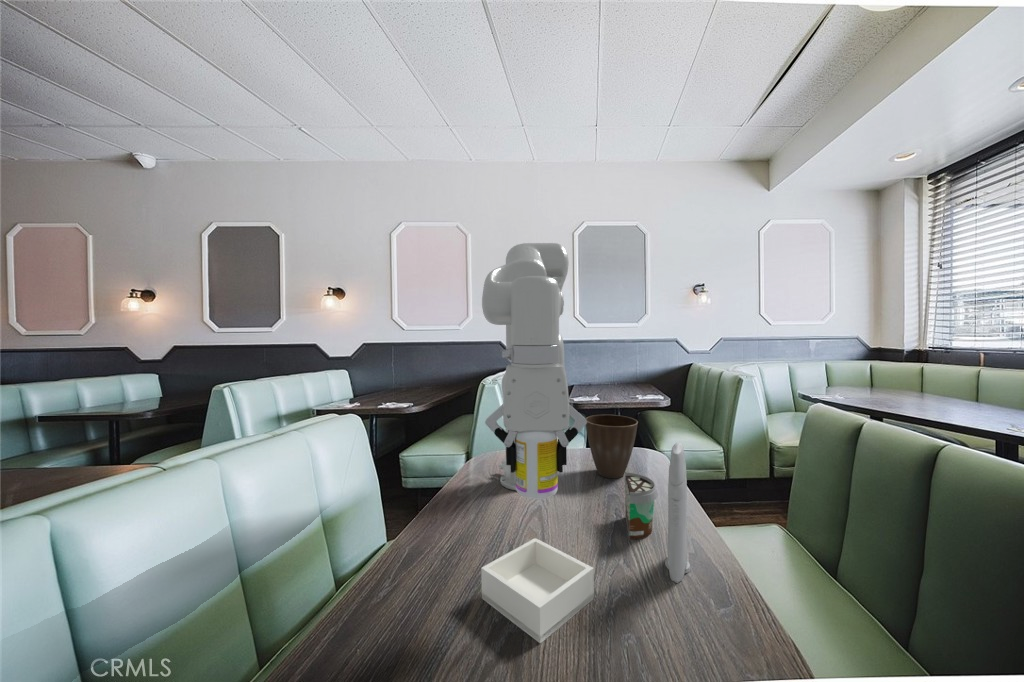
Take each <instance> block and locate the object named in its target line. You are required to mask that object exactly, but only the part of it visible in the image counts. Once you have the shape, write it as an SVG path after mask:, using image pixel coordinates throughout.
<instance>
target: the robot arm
mask: <svg viewBox="0 0 1024 682" xmlns="http://www.w3.org/2000/svg"><path fill="white" fill-rule="evenodd" d="M568 255H569V254H568V253H567V250H566V249H565V247H564V246H563V245H562V244H560V243H556V242H526V243H525V242H524V243H519V244H516V245H514V246H512V247H511V248H510V249H509V250H508V252H507V254H506V255H505V256H506V257H505V264H503V265H501V266H499V267H496V268H494V269H492V270H491V271H489V273H488V274H487V275H486V277H485V280H484V282H483V283H484V284H483V287H482V288H483V289H482V294H481V295H482V296H481V297H482V298H481V307H482V308H481V309H482V313H483V317H484V318H485V320H487V322H488V323H489V324H492V325H495V326H505V344H506V345H505V349H501V358H503V359H507V360H508V361H509V362H510V364H508V365H506V367H505V371H504V372H505V373H504V375H503V376H502V378H501V384H500V385H501V391H502V392H501V393H502V404H501V405H500V406H499V407H497V409H495V410H494V411H493V412H492V413H491V414H490V415H489V416H488V417H486V418H485V421H484V424H485V425H486V426H487V427H488V429H489V430H490V431H491V432H492V433H493V434H494V435H495V437H497V439H499V441H500V442H502V443H503V445H504V447H505V459H503V460H501V462H500V463H499V464H498V469H500V470H503V474H502V475H501V476H500V485H501V486H502V487H504V488H506V489H509V490H512V491H517V490H516V482H515V436H516V434H517V432H532V431H542V432H555V433H556V435H557V470H558V472H559V473H563V470H564V469H563V467H564V466H567V461H568V460H567V451H568V450H567V447H568V446H569V444H570V443H571V442H572V440H574V439H575V438H576V437H577V436H578V434H579V432H581V431H582V429H583V428H585V427H586V424H587V420H586V417H585V416H583V415H582V414H581V413H580V412H578V410H576V409H575V407H573V406H572V405H571V404H570V399H569V386H568V378H567V372H566V367H565V344H564V340H563V336H562V334H560V317H561V316H562V315H563V313H564V306H565V300H564V294H563V292H562V290H563V287H564V284H565V281H566V278H567V275H568V271H569V256H568ZM570 417H571V418H572V419H573V420H574V422H573V424H572V425H571V426H570V427H569V425H570ZM501 418H502V421H503V427H504V428H505V429H504V428H502V427H501V426H500V425H499V424H498V422H497V421H499V420H500V419H501ZM565 430H566V431H565Z"/></svg>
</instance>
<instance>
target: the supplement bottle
mask: <svg viewBox="0 0 1024 682" xmlns="http://www.w3.org/2000/svg"><path fill="white" fill-rule="evenodd" d="M557 441H558V437H557V435H556V433H555V432H542V431H532V432H517V434H516V436H515V482H516V490H515V491H516V492H517V493H518V494H519V496H521V497H523V498H526V499H530V500H531V499H532V500H544V499H548V498H551V497H554V495H556V494H557V492H558V487H559V485H558V483H559V482H558V480H559V479H558V476H559V475H558V474H559V473H558V470H557Z"/></svg>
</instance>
